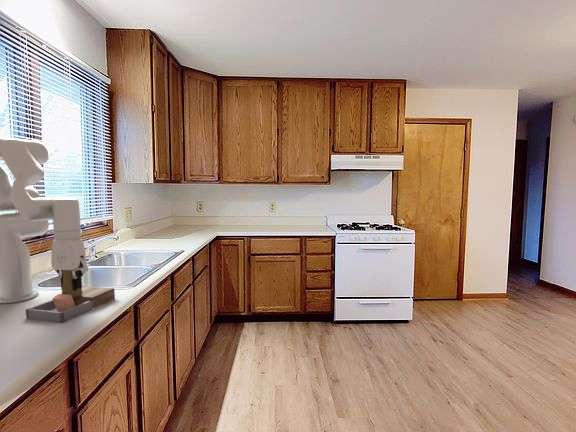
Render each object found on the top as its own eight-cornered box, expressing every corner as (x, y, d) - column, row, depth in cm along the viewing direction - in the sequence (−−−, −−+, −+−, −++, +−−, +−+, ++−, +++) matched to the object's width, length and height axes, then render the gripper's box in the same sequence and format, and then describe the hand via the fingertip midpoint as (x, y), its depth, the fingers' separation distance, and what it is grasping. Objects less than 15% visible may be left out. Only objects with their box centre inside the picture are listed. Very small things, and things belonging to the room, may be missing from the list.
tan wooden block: (59, 305, 116) (58, 294, 116) (83, 296, 126) (82, 285, 125) (92, 308, 113) (92, 297, 112) (114, 298, 122) (114, 288, 122)
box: (26, 318, 105) (25, 309, 105) (59, 305, 116) (58, 297, 116) (62, 322, 102) (61, 313, 101) (92, 308, 113) (92, 300, 112)
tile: (63, 306, 112) (57, 311, 110) (58, 293, 110) (52, 298, 108) (76, 307, 111) (70, 312, 109) (71, 294, 109) (65, 299, 107)
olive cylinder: (78, 290, 117) (76, 260, 116) (85, 294, 114) (83, 262, 112) (58, 295, 113) (56, 263, 112) (65, 299, 109) (62, 266, 108)
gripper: (37, 236, 109) (41, 290, 111) (78, 238, 105) (82, 294, 107) (58, 233, 117) (61, 284, 119) (97, 234, 113) (101, 287, 114)
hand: (71, 288), depth 113 cm, fingers closed on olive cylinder, 3 cm apart
